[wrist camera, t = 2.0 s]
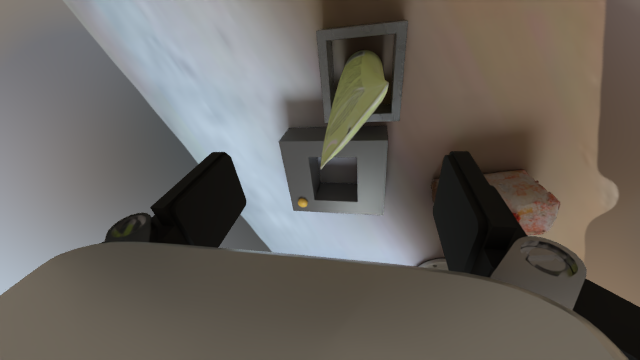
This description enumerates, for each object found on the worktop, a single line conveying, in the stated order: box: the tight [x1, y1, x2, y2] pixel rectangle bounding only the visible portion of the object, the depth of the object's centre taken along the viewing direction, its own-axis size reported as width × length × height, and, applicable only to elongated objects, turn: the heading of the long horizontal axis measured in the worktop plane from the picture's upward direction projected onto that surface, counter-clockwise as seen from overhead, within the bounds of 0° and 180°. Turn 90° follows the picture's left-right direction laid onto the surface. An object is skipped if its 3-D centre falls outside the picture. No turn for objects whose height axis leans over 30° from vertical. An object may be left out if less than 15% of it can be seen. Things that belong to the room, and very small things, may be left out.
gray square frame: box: [316, 20, 408, 123], centre depth 30 cm, size 10×11×4 cm
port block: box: [279, 126, 388, 215], centre depth 38 cm, size 15×13×5 cm
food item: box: [431, 170, 560, 236], centre depth 34 cm, size 14×8×10 cm, turn 106°
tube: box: [320, 50, 389, 169], centre depth 24 cm, size 6×5×20 cm
